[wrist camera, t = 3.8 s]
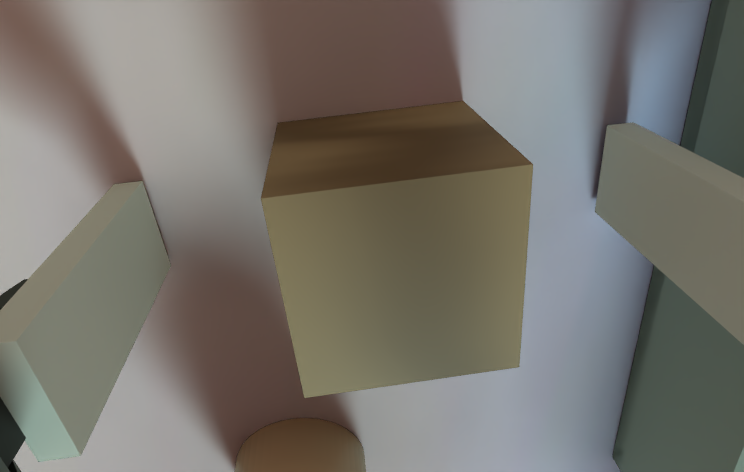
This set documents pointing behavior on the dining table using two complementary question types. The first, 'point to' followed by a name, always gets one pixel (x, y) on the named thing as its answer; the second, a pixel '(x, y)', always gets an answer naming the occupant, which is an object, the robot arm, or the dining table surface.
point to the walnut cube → (398, 245)
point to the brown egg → (301, 448)
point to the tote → (693, 303)
